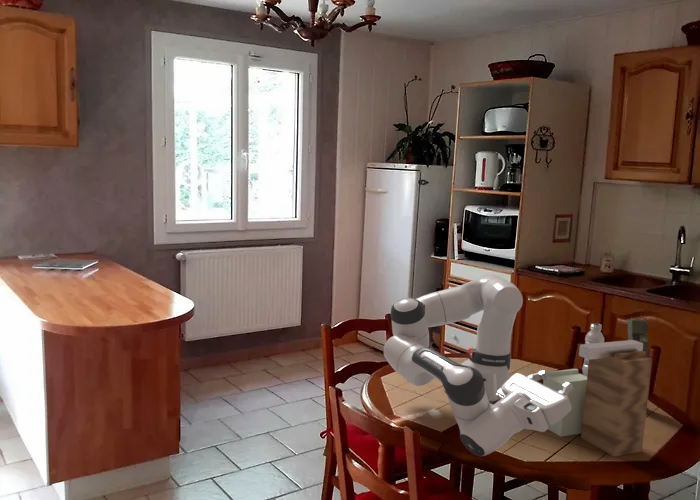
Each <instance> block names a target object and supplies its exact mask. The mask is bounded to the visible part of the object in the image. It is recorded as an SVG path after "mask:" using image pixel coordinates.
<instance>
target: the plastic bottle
mask: <svg viewBox="0 0 700 500" xmlns="http://www.w3.org/2000/svg"><path fill="white" fill-rule="evenodd" d="M602 327H603V325H602V324H600V323H596V322H595V323H593V322H591V323H590V327H589V329H590V330H588V332H587V334H585V338H584V341H585V342H584V344H593V343H604V342H605V337H604V335H603V333H602V332H601V331H602ZM588 364H589V360H588V359H586V358H584V361H583V365H582V367H581V370H582V375H584V376H586V377H587V374H588Z"/></svg>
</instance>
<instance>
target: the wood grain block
mask: <svg viewBox="0 0 700 500" xmlns="http://www.w3.org/2000/svg"><path fill="white" fill-rule="evenodd" d="M645 354H646V352H644V351H635V352H625V353H615V354H614V357H609V358H599V359H590V360H589V364H588V374H587V384H586V394H585V405H584V415H583V425H582V433H581V434H580V435H581V437H580V438H581V439H582V440H584V441H586V442H587V443H589V444H590V445H593V446H594V447H596V448H598V449H599V450H600V451H601V450H602V451H603V452H605V453H606V454H608V455H610V456H611V457H614V458H615V457H620V456H626V455H630V454H631V455H632V454H637V453H641V452H643V447H644V446H643V444H644V436H645V426H646V418H647V411H648V410H647V409H648V399H649V391H650V382H651V372H652V365H653V358H651V357H649V356H648V357H646V356H645Z"/></svg>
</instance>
